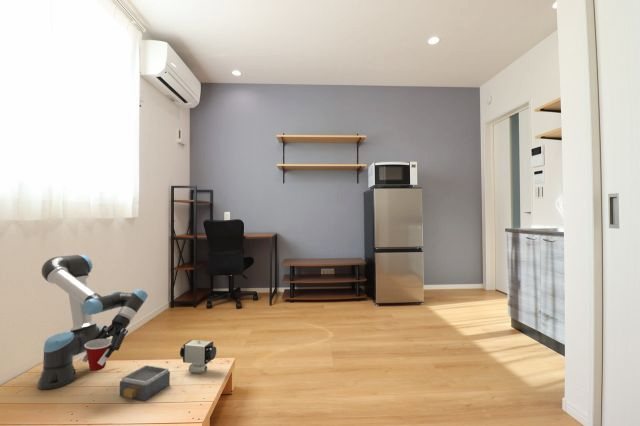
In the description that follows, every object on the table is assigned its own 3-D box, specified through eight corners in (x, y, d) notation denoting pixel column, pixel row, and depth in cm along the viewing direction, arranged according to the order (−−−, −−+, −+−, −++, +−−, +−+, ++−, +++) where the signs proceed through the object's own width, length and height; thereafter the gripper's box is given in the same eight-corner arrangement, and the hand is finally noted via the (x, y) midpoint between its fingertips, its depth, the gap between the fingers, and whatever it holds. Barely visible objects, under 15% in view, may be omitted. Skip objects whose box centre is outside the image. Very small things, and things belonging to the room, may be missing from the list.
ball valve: (217, 370, 173) (218, 337, 174) (209, 377, 165) (210, 343, 166) (188, 367, 176) (189, 335, 177) (178, 374, 168) (179, 341, 169)
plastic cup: (93, 375, 137) (95, 348, 138) (77, 371, 141) (78, 344, 141) (117, 365, 148) (118, 340, 148) (101, 361, 151) (102, 336, 152)
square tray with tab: (114, 399, 143) (115, 380, 144) (145, 381, 160) (146, 364, 160) (140, 404, 139) (141, 385, 140) (169, 385, 156) (170, 368, 156)
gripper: (145, 323, 157) (115, 369, 141) (111, 319, 163) (79, 362, 147) (136, 316, 152) (104, 362, 136) (102, 311, 158) (68, 355, 142)
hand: (91, 362), depth 141 cm, fingers closed on plastic cup, 9 cm apart
